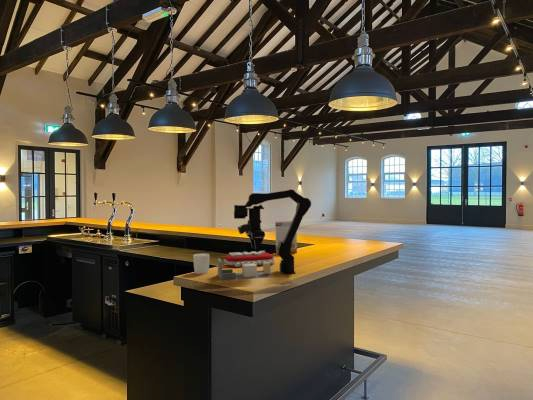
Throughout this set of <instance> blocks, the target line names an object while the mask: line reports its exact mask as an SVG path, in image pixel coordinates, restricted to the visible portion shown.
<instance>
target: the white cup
mask: <svg viewBox="0 0 533 400" xmlns="http://www.w3.org/2000/svg"><path fill="white" fill-rule="evenodd" d="M192 256H193V270H194V274H198V275H200V274H201V275H204V274H205V275H206V274H208V273H209V272H210V271H209V270H210V254H209V253H195V254H193V255H192Z"/></svg>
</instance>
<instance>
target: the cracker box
mask: <svg viewBox="0 0 533 400" xmlns="http://www.w3.org/2000/svg"><path fill="white" fill-rule="evenodd" d="M274 223H275V225H274V226H275V253H276V254H277V248H276V247H277V246H278V244H279V241H281V242H282V241H283V240H284V239H285V236H286V234H287V232H288V230H289V227H290V225H291V223H292V220H275V221H274ZM297 233H298V231H297V232H296V234H295V236H294V239H293V241H292V246H291V251H290V254H292V253H295V254H297V253H298V241H297V239H298V238H297V237H298V236H297Z"/></svg>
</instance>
